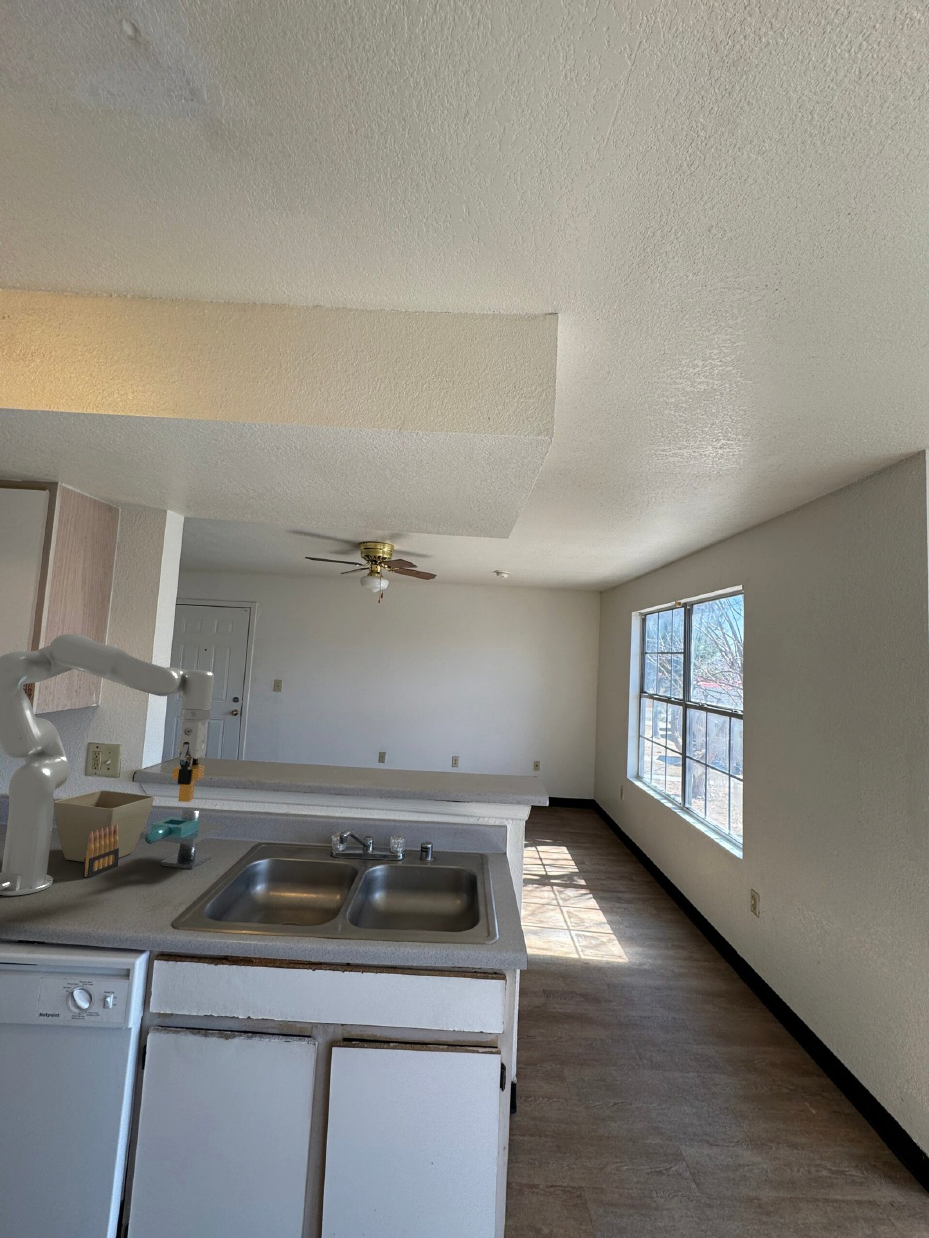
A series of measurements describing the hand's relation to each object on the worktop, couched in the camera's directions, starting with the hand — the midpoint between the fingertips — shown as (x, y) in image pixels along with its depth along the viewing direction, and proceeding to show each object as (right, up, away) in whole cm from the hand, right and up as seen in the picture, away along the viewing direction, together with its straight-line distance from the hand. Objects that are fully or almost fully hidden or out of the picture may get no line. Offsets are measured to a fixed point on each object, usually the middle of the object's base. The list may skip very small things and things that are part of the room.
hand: (187, 781), depth 166 cm
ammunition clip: (-25, -26, +3) cm, 36 cm away
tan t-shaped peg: (0, -5, 0) cm, 5 cm away
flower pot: (-33, -26, +14) cm, 44 cm away
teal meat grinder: (-8, -27, +9) cm, 30 cm away
